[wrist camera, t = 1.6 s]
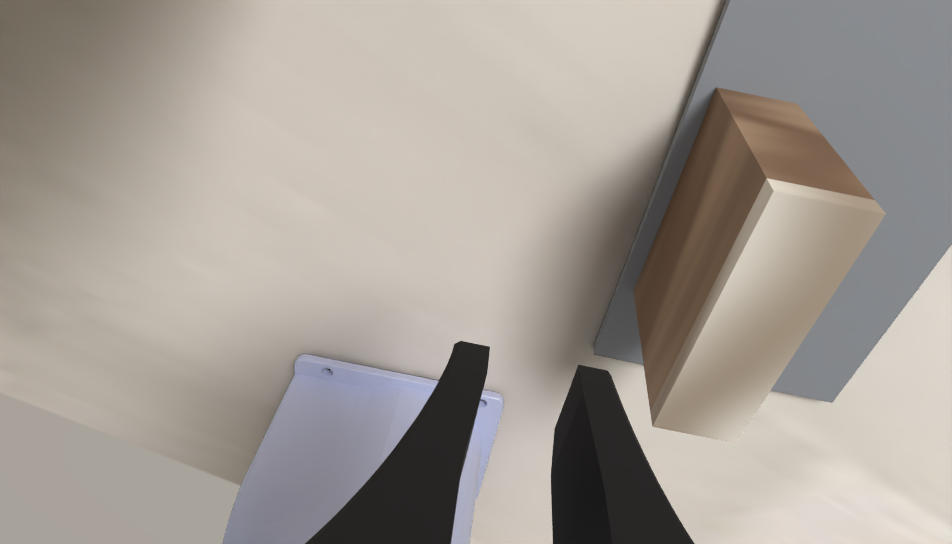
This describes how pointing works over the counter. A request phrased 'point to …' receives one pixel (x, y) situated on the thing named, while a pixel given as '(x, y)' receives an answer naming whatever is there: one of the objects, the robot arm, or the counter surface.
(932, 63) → the mat
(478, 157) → the counter surface
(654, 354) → the slab
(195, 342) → the counter surface
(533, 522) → the counter surface
